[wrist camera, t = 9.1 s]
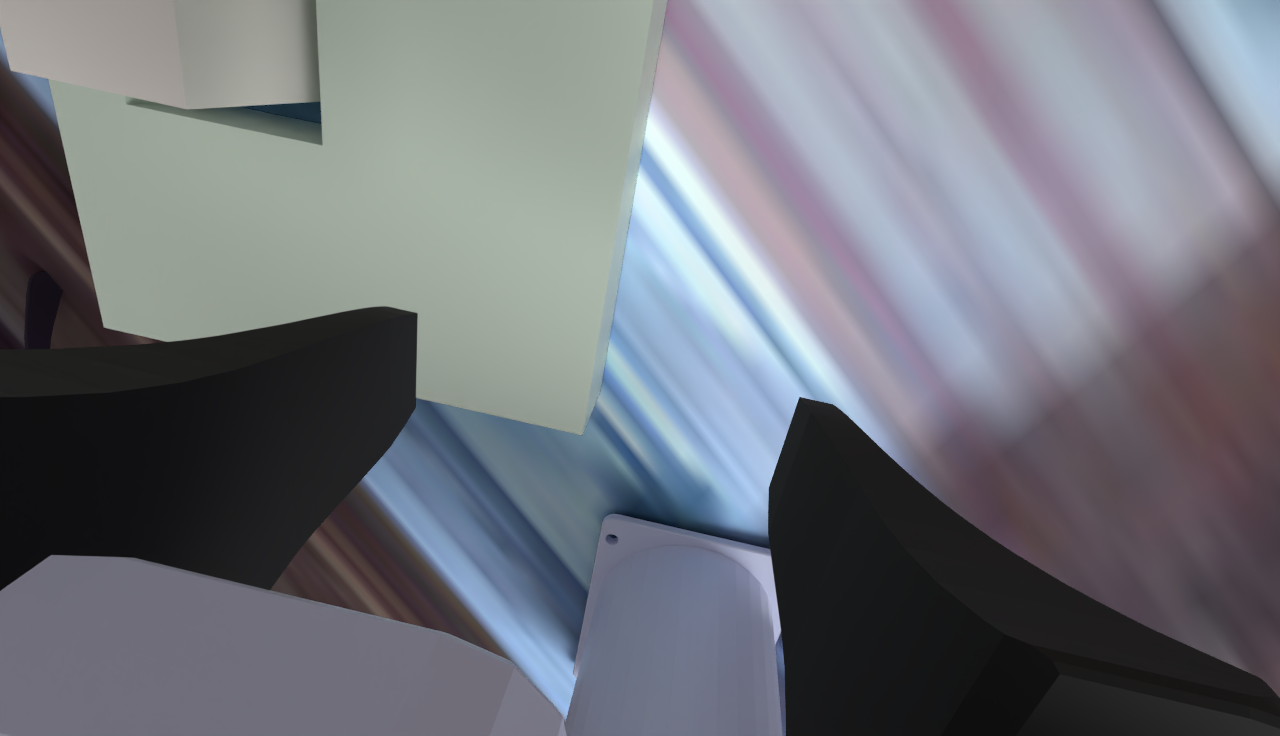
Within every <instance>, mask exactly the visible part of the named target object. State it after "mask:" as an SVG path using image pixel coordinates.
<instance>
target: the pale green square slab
mask: <svg viewBox="0 0 1280 736" xmlns="http://www.w3.org/2000/svg"><path fill="white" fill-rule="evenodd" d="M667 2H668V0H316V15H317V36H318V57H319V79H320V100H321V122H322V124H318V123H313V122H309V121H304V120H299V119H294V118H290V117H285V116H280V115H275V114H271V113H266V112H261V111H256V110H251V109H247V108H242V107H221V108H204V109H182V108H178V107H173V106H169V105H164V104H160V103H155V102H151V101H146V100H142V99H137V98H133V97H128V96H124V95H119V94H115V93H110V92H106V91H101V90H96V89H92V88H87V87H83V86H78V85H74V84H69V83H65V82H60V81H56V80H51V79H48V80H49V85H50V89H51V94H52V98H53V102H54V107H55V111H56V116H57V120H58V125H59V129H60V134H61V138H62V143H63V147H64V152H65V156H66V160H67V165H68V169H69V174H70V178H71V183H72V187H73V192H74V196H75V201H76V205H77V209H78V214H79V218H80V223H81V227H82V232H83V236H84V241H85V245H86V250H87V254H88V258H89V263H90V267H91V272H92V276H93V281H94V285H95V290H96V294H97V299H98V303H99V308H100V312H101V316H102V321H103V325H104V328H109V329H113V330H117V331H122V332H126V333H131V334H135V335H140V336H144V337H148V338H153V339H157V340H162V341H166V342H172V341H181V340H190V339H197V338H205V337H212V336H219V335H225V334H230V333H236V332H242V331H247V330H253V329H258V328H264V327H270V326H275V325H281V324H286V323H291V322H296V321H300V320H305V319H310V318H315V317H320V316H325V315H329V314H334V313H339V312H345V311H350V310H355V309H361V308H368V307H379V306H388V307H392V308H397V309H401V310H406V311H410V312H415V313H418V320H417V369H416V398H419V399H423V400H428V401H432V402H436V403H441V404H445V405H450V406H454V407H459V408H463V409H467V410H472V411H476V412H481V413H485V414H490V415H494V416H498V417H503V418H507V419H512V420H516V421H521V422H525V423H529V424H534V425H538V426H543V427H547V428H552V429H556V430H560V431H565V432H569V433H574V434H578V435H583V433H584V431H585V428H586V426H587V423H588V421H589V418H590V416H591V413H592V411H593V408H594V406H595V404H596V401H597V399H598V396H599V394H600V390H601V385H602V379H603V373H604V367H605V361H606V356H607V350H608V344H609V338H610V332H611V327H612V321H613V315H614V309H615V303H616V298H617V292H618V286H619V280H620V274H621V268H622V263H623V257H624V251H625V245H626V239H627V234H628V228H629V222H630V216H631V210H632V205H633V199H634V193H635V187H636V181H637V176H638V170H639V164H640V158H641V152H642V147H643V141H644V135H645V129H646V123H647V118H648V112H649V106H650V100H651V94H652V89H653V83H654V77H655V71H656V65H657V60H658V54H659V48H660V42H661V36H662V31H663V25H664V19H665V13H666V7H667Z"/></svg>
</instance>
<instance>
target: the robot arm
mask: <svg viewBox="0 0 1280 736" xmlns="http://www.w3.org/2000/svg"><path fill="white" fill-rule="evenodd" d="M417 320H418V313H415V312H410V311H406V310H401V309H397V308H392V307H388V306H379V307H368V308H361V309H355V310H350V311H345V312H339V313H334V314H329V315H325V316H320V317H315V318H310V319H305V320H300V321H296V322H291V323H286V324H281V325H275V326H270V327H264V328H258V329H253V330H247V331H242V332H236V333H230V334H225V335H219V336H212V337H205V338H197V339H190V340H181V341H172V342H162V343H152V344H141V345H128V346H107V347H87V348H67V349H10V350H0V736H782V725H781V713H780V701H779V689H778V677H777V665H776V652H775V645H776V642H777V640H778V637H779V635H780V632H781V634H782V641H783V653H784V664H785V699H786V736H1280V698H1279V697H1278V696H1277V694H1276V693H1275V692H1274V691H1273V690H1272V689H1271V688H1270V687H1269V686H1268V684H1267V683H1265V682H1264V681H1263V680H1262V679H1260V678H1259V677H1257V676H1255V675H1252V674H1250V673H1248V672H1246V671H1243V670H1241V669H1239V668H1237V667H1235V666H1232V665H1230V664H1228V663H1226V662H1223V661H1221V660H1219V659H1217V658H1214V657H1212V656H1210V655H1208V654H1206V653H1203V652H1201V651H1199V650H1197V649H1194V648H1192V647H1190V646H1188V645H1186V644H1183V643H1181V642H1179V641H1177V640H1174V639H1172V638H1170V637H1168V636H1166V635H1163V634H1161V633H1159V632H1157V631H1155V630H1153V629H1150V628H1148V627H1146V626H1144V625H1142V624H1140V623H1138V622H1136V621H1134V620H1133V619H1131V618H1129V617H1127V616H1125V615H1123V614H1121V613H1119V612H1117V611H1115V610H1113V609H1111V608H1109V607H1107V606H1105V605H1103V604H1101V603H1099V602H1098V601H1096V600H1094V599H1092V598H1090V597H1088V596H1086V595H1085V594H1083V593H1081V592H1079V591H1077V590H1075V589H1074V588H1072V587H1070V586H1068V585H1066V584H1065V583H1063V582H1061V581H1059V580H1058V579H1056V578H1054V577H1053V576H1051V575H1049V574H1048V573H1046V572H1044V571H1043V570H1041V569H1039V568H1038V567H1036V566H1034V565H1033V564H1031V563H1029V562H1028V561H1026V560H1025V559H1023V558H1021V557H1020V556H1018V555H1016V554H1015V553H1013V552H1012V551H1010V550H1009V549H1007V548H1005V547H1004V546H1002V545H1001V544H999V543H998V542H996V541H995V540H993V539H992V538H990V537H989V536H988V535H986V534H985V533H983V532H982V531H981V530H979V529H978V528H976V527H975V526H974V525H972V524H971V523H969V522H968V521H967V520H965V519H964V518H962V517H961V516H960V515H958V514H957V513H956V512H954V511H953V510H952V509H950V508H949V507H948V506H947V505H945V504H944V503H943V502H941V501H940V500H939V499H938V498H937V497H935V496H934V495H933V494H932V493H931V492H929V491H928V490H927V489H926V488H925V487H923V486H922V485H921V484H920V483H919V482H918V481H916V480H915V479H914V478H913V477H912V476H911V475H909V474H908V473H907V472H906V471H905V470H904V469H903V468H902V467H901V466H899V465H898V464H897V463H896V462H895V461H894V460H893V459H892V458H891V457H890V456H889V455H888V454H887V453H885V452H884V451H883V450H882V449H881V448H880V447H879V446H878V445H877V444H876V443H875V442H874V441H873V440H872V439H871V438H870V437H869V436H868V435H867V434H866V433H865V432H864V431H863V430H862V429H861V428H859V427H858V426H857V425H856V424H855V423H854V422H853V421H852V420H851V419H850V418H849V417H848V416H847V415H846V414H844V413H843V412H842V411H841V410H840V409H839V408H837V407H836V406H834V405H833V404H828V403H824V402H819V401H815V400H810V399H805V398H801V397H800V398H799V400H798V403H797V406H796V409H795V412H794V415H793V418H792V421H791V424H790V427H789V430H788V433H787V436H786V439H785V442H784V445H783V448H782V451H781V454H780V457H779V460H778V463H777V466H776V469H775V472H774V474H773V477H772V480H771V483H770V486H769V509H768V535H769V543H770V549H767V548H762V547H758V546H754V545H749V544H745V543H741V542H736V541H732V540H728V539H723V538H719V537H715V536H710V535H706V534H702V533H697V532H693V531H689V530H684V529H680V528H676V527H671V526H667V525H663V524H658V523H654V522H650V521H645V520H641V519H637V518H632V517H628V516H623V515H619V514H610V515H607V516H606V517H605V518H604V520H603V523H602V526H601V532H600V537H599V542H598V547H597V552H596V557H595V562H594V567H593V573H592V578H591V583H590V588H589V593H588V598H587V603H586V608H585V614H584V619H583V624H582V629H581V634H580V639H579V644H578V650H577V655H576V660H575V665H574V670H573V674H574V676H575V677H576V678H577V680H576V683H575V687H574V691H573V695H572V699H571V703H570V707H569V711H568V715H567V719H566V723H565V725H564V720H563V716H562V715H561V713H560V712H559V711H558V710H557V709H556V707H555V706H554V705H553V704H552V703H551V702H550V701H549V700H548V699H547V698H546V697H545V696H544V695H543V693H542V692H541V691H540V690H539V689H538V688H537V687H536V686H535V685H534V684H533V683H532V682H531V681H530V680H529V679H528V678H527V677H526V676H525V675H524V674H523V673H522V672H521V671H520V670H519V669H518V668H517V667H516V666H515V665H514V664H513V663H512V662H511V661H510V660H507V659H505V658H503V657H500V656H498V655H496V654H494V653H491V652H489V651H487V650H484V649H482V648H480V647H478V646H475V645H473V644H471V643H468V642H466V641H464V640H462V639H459V638H457V637H455V636H452V635H450V634H448V633H445V632H441V631H436V630H432V629H428V628H424V627H420V626H416V625H411V624H407V623H403V622H399V621H395V620H391V619H387V618H382V617H378V616H374V615H370V614H366V613H362V612H357V611H353V610H349V609H345V608H341V607H337V606H332V605H328V604H324V603H320V602H316V601H312V600H307V599H303V598H299V597H295V596H291V595H287V594H283V593H278V592H274V591H270V589H271V588H272V586H273V585H274V584H275V582H276V581H277V579H278V578H279V577H280V575H281V574H282V573H283V571H284V570H285V568H286V567H287V566H288V564H289V563H290V561H291V560H292V559H293V557H294V556H295V555H296V553H297V552H298V551H299V549H300V548H301V547H302V546H303V545H304V543H305V542H306V541H307V540H308V538H309V537H310V536H311V535H312V534H313V532H314V531H315V530H316V529H317V528H318V527H319V526H320V525H321V523H322V522H323V521H324V520H325V519H326V518H327V517H328V516H329V515H330V514H331V512H332V511H333V510H334V509H335V508H336V507H337V506H338V505H339V504H340V503H341V501H342V500H343V499H344V498H345V497H346V496H347V495H348V494H349V493H350V492H351V490H352V489H353V488H354V487H355V486H356V485H357V484H358V483H359V482H360V481H361V479H362V478H363V477H364V476H365V475H366V474H367V473H368V472H369V470H370V469H371V468H372V467H373V466H374V465H375V464H376V463H377V461H378V460H379V459H380V458H381V457H382V456H383V455H384V453H385V452H386V451H387V450H388V449H389V448H390V446H391V445H392V444H393V442H394V441H395V439H396V438H397V436H398V435H399V433H400V432H401V430H402V429H403V427H404V426H405V424H406V422H407V421H408V419H409V417H410V416H411V414H412V413H413V411H414V409H415V408H416V369H417ZM609 534H613V535H615V536H617V538H611V537H609V536H608V535H609Z"/></svg>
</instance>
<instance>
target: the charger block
mask: <svg viewBox="0 0 1280 736" xmlns="http://www.w3.org/2000/svg"><path fill="white" fill-rule="evenodd" d="M0 28H1V32H2V36H3V41H4V45H5V49H6V53H7V57H8V61H9V65H10V70H11V71H15V72H19V73H24V74H29V75H33V76H38V77H42V78H47V79H51V80H56V81H60V82H65V83H69V84H74V85H78V86H83V87H87V88H92V89H96V90H101V91H106V92H110V93H115V94H119V95H124V96H128V97H133V98H137V99H142V100H146V101H151V102H155V103H160V104H164V105H169V106H173V107H178V108H182V109H204V108H221V107H238V106H255V105H272V104H289V103H306V102H321V100H320V79H319V57H318V36H317V15H316V0H0Z"/></svg>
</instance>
